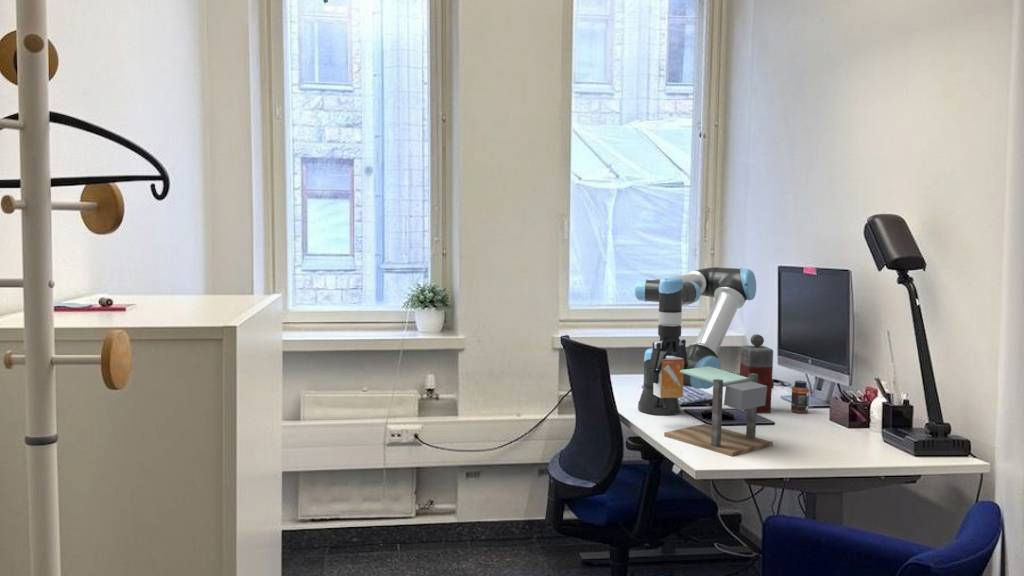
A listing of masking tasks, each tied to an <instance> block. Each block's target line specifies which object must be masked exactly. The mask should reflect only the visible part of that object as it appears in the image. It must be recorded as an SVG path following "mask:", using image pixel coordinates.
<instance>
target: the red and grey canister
mask: <svg viewBox="0 0 1024 576" xmlns="http://www.w3.org/2000/svg"><path fill="white" fill-rule="evenodd" d="M764 341H765V340H764V337H763V336H762V335H761V334H759V333H757V334H753V335H752V336H751V337H750V343H751V345H741V346H740V358H739V359H740V360H739V363H740V364H739V375H740V376H744V377H747V378H748V375H749V374H751V373H754V374H758V384H762V385H765V386H767V394H766V402H765V405H764V406H760V407H757V410H756V414H771V411H772V391H773V390H772V388H773V387H772V386H773V369H774V367H773V366H774V365H773V363H774V350H773V349H772V348H770V347H768V346H765V345H763V344H764ZM745 411H746V412H747V409H745V410H744V411H743V412H745ZM746 412H745V413H746Z"/></svg>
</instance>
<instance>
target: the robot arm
mask: <svg viewBox="0 0 1024 576" xmlns="http://www.w3.org/2000/svg"><path fill="white" fill-rule="evenodd" d="M634 286H635V287H634V295H635V298H636V299H637V300H638V301H643V302H651V303H652V302H654V303H658V326H657V327H658V328H657V335H658V337H659V340H658V341H657V342H656V341H653V342H652V347H651V348H647V349H646V350H645V352H644V358H643V387H642V388H643V389H642V392H641V395H640V398H639V401H638V403H637V409H638V411H640V412H641V413H645V414H649V415H657V416H669V415H670V416H671V415H677V414H680V413H681V403H680V402H679V401H680V400H679V397H675V398H660V397H658V396H656V395H654V394H653V385H654V393H659V394H661V386H662V374H660V371H661V369H662V360H663V359H665V358H666V356H675V357H680V358H683V359H684V370H686V369H693V368H699V367H706V366H710V367H713V368H717V369H720V370H722V369H721V368H722V367H721V362H720V358H719V355H718V352H719V350H720V348H721V345H722V343H723V341H724V339H725V337H726V334H727V332H728V330H729V329H730V327H731V323H732V322H733V319H734V317H735V315H736V313H737V310H738V309H741V308H742V307H744V305H745V303H746V301H753V300H754V299H755V298H756V294H757V280H756V276H755V273H754V271H753V270H751V269H749V268H743V267H740V268H733V267H719V266H718V267H717V266H713V267H706V268H701V269H696V270H695V269H694V270H691V271H689V272H687V273H686V274H682V275H676V276H670V277H662V278H657V279H639V280H638V281H637V282H636V283H635V285H634ZM701 296H703V297H711V298H714V299H715V300H714V302H713V304H712V306H711V307H710V310H709V312H708V314H707V316H706V318H705V321H704V323H703V325H702V327H701V328H700V331H699V333H698V335H697V337H696V339H695V342H694V343H691V344H688V346H687V347H686V343H687V340H686V339H683V338H680V337H681V336H682V325H681V324H683V323H682V321H683V318H682V317H683V313H682V312H683V311H682V310H683V309H682V308H683V306H684V305H692V304H694V303H696V302H698V301H699V300H700V297H701ZM683 387H688V388H694V389H695V390H696V389H699V390H700V389H702V390H703V389H704V390H708V389H711V388H713V382H709V381H706V380H703V379H700V378H697V377H694V376H691V375H687V374H684V375H683Z"/></svg>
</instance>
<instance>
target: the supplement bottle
mask: <svg viewBox="0 0 1024 576" xmlns="http://www.w3.org/2000/svg"><path fill="white" fill-rule="evenodd" d="M807 385H808V384H807V381H805V380H795V381H794V385H793V386H792V388H791V397H790V398H791V402H790V411H791V412H792V413H796V414H807V413H809V406H810V405H809V403H810V402H809V400H810V398H809V397H810V389H809V387H807Z"/></svg>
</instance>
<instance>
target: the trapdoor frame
mask: <svg viewBox="0 0 1024 576" xmlns="http://www.w3.org/2000/svg"><path fill="white" fill-rule="evenodd" d="M748 378H751V379H752V382H755V383H758V374H754V373H751V374H749V375H748ZM723 389H724V387H723V380H720V379H714V380H713V386H712V406H711V407H712V412H711V414H712V415H711V424H707V423H703V424H699V425H698V424H697V425H693V426H688V427H684V428H678V429H674V430H669V431H665V432H664V433H663V434H664V435H663V437H666V438H668V439H673V440H675V441H679V442H682V443H686V444H689V445H692V446H696V447H699V448H703V449H706V450H709V451H713V452H716V453H719V454H723V455H727V456H728V457H729V456H730V457H734V456H738V455H739V456H740V455H742V454H746V453H749V452H754V451H757V450H758V451H759V450H761V449H765V448H769V447H773V446H774V444H773V443H774V441H773V440H768V439H764V438H760V437H756V433H757V432H756V430H757V413H756V410H757V407H755V408H750V409H747V413H746V425H745V426H746V428H745V429H746V431H745V433H742V432H738V431H735V430H730V429H727V428H723V427H722V422H723V421H722V420H723V398H724V397H723V395H724V390H723Z"/></svg>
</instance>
